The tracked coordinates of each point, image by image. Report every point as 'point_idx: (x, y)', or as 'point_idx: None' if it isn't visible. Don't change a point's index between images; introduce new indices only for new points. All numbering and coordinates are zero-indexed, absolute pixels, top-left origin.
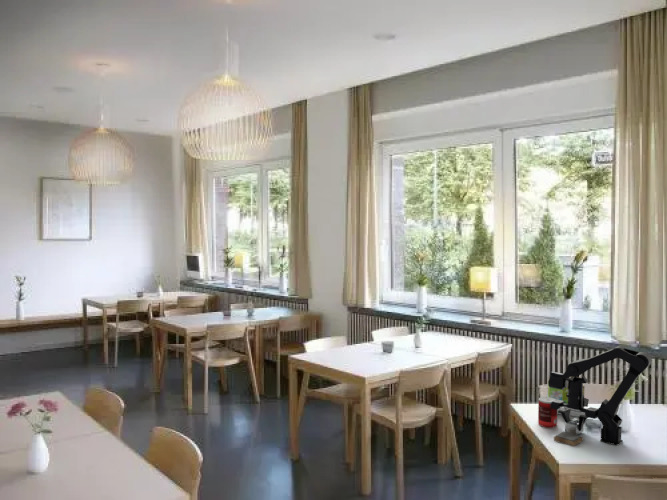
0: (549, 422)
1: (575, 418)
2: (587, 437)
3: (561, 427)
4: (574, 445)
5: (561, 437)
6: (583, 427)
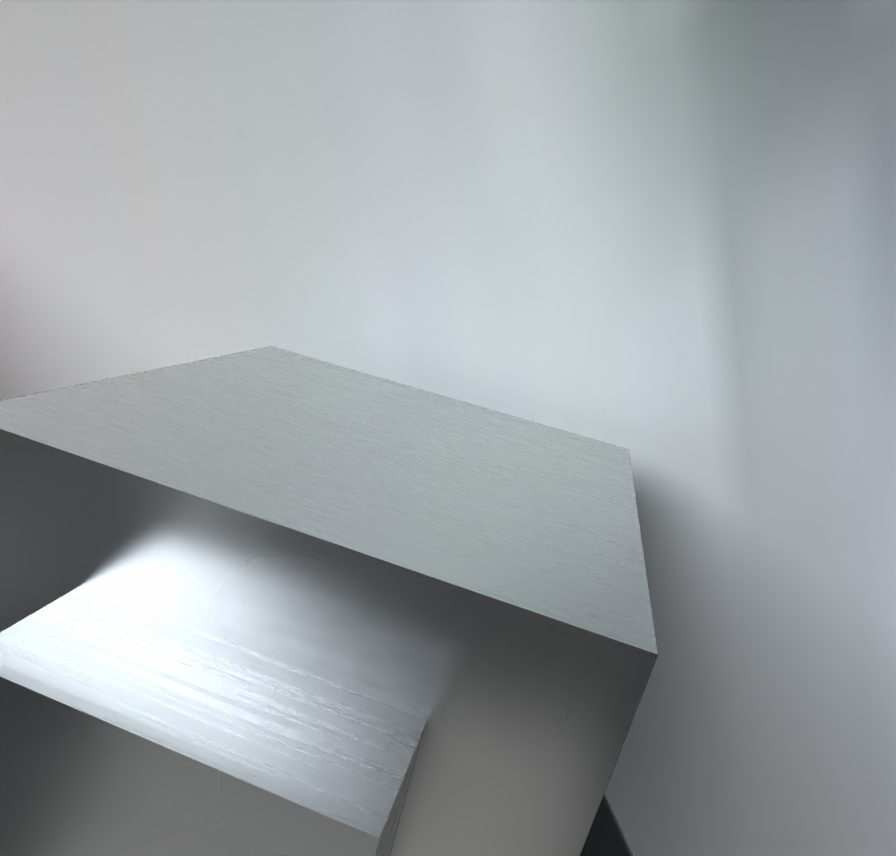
0: None
1: (15, 695)
2: (786, 782)
3: (12, 296)
4: None
5: None
6: (628, 515)
